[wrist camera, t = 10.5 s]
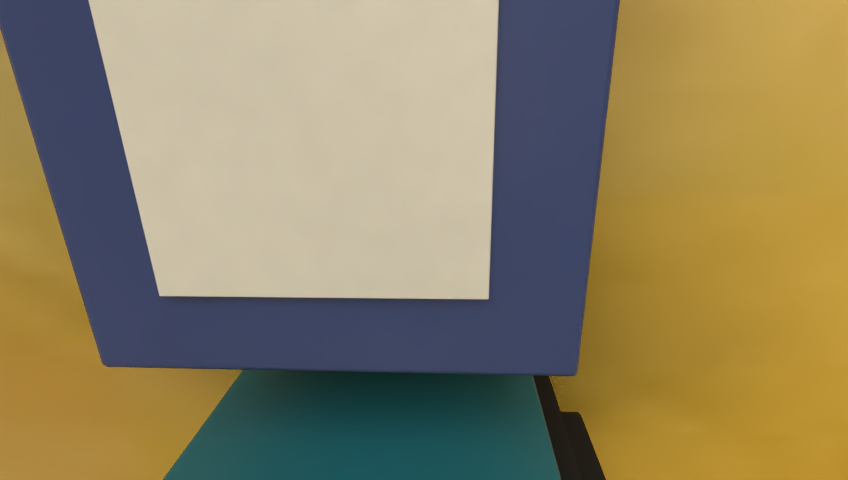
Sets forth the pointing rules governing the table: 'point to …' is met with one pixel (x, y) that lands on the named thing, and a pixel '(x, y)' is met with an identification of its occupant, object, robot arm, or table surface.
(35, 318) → the table surface
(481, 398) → the teal block
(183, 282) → the navy block
